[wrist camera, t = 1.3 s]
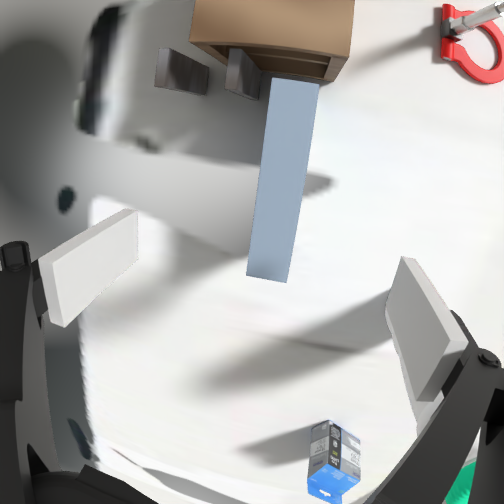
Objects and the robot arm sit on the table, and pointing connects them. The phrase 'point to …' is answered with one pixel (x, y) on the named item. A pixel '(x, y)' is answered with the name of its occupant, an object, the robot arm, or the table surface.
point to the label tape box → (332, 462)
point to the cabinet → (261, 43)
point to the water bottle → (422, 413)
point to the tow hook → (464, 22)
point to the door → (281, 177)
